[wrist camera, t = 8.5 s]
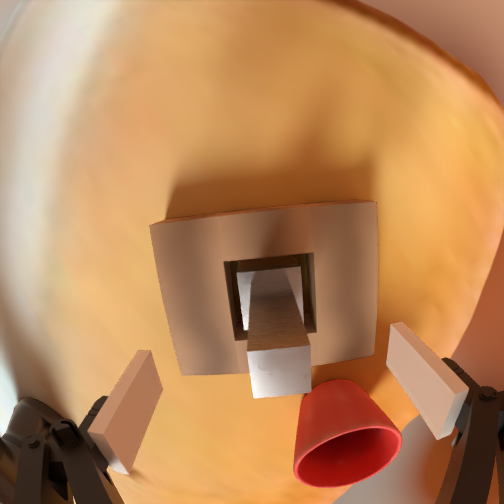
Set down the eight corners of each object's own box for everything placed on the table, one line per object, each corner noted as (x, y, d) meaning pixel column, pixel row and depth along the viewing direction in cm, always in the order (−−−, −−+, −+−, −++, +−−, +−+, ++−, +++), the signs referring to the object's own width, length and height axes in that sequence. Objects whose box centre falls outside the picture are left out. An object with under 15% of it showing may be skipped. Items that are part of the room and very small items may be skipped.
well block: (190, 353, 29) (181, 375, 25) (164, 219, 26) (149, 225, 22) (360, 335, 28) (373, 355, 24) (359, 199, 25) (376, 201, 21)
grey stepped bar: (245, 310, 28) (237, 412, 14) (239, 260, 27) (222, 335, 13) (297, 305, 27) (329, 402, 14) (294, 254, 26) (331, 323, 13)
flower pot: (274, 386, 30) (279, 451, 20) (368, 353, 29) (402, 409, 19) (298, 439, 32) (306, 497, 22) (377, 412, 31) (402, 465, 21)
